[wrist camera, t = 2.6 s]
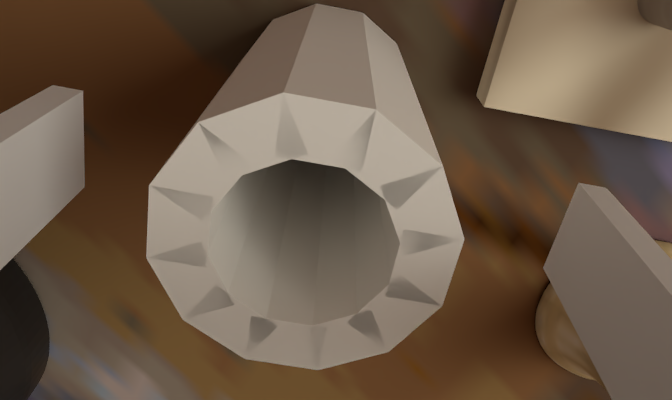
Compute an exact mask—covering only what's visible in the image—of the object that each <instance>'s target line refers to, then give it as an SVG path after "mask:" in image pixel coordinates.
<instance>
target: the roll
mask: <svg viewBox="0 0 672 400" xmlns="http://www.w3.org/2000/svg"><path fill="white" fill-rule="evenodd" d="M463 242H464V236H463V233H462V229H461V226H460V223H459V219H458V216H457V212H456V209H455V206H454V202H453V199H452V195H451V192H450V189H449V185H448V182H447V179H446V175H445V172H444V168H443V165H442V163H441V160H440V157H439V155H438V152H437V149H436V147H435V144H434V141H433V139H432V136H431V133H430V131H429V128H428V125H427V123H426V120H425V117H424V115H423V112H422V109H421V107H420V104H419V101H418V99H417V96H416V93H415V91H414V88H413V85H412V83H411V80H410V77H409V75H408V72H407V69H406V67H405V64H404V61H403V59H402V56H401V54H400V51H399V48H398V46H397V43H396V42H395V41H393V40H392V39H391V38H390V37H389V36H388V35H387V34H386V33H385V32H384V31H382V30H381V29H380V28H379V27H378V26H377V25H376V24H375V23H374V22H372V21H371V20H370V19H369V18H368V17H367V16H366V15H365V14H364V13H362V12H358V11H353V10H347V9H342V8H337V7H332V6H327V5H322V4H317V3H316V4H313V5H311V6H308V7H305V8H303V9H300V10H297V11H295V12H292V13H289V14H287V15H284V16H281V17H279V18H276V19H273V20H272V21H271V23H270V24H269V25H268V27H267V28H266V29H265V30H264V32H263V33H262V34H261V36H260V37H259V38H258V39H257V41H256V42H255V43H254V45H253V46H252V47H251V48H250V50H249V51H248V52H247V54H246V55H245V56H244V58H243V59H242V60H241V62H240V63H239V64H238V66H237V67H236V68H235V70H234V71H233V73H232V74H231V75H230V77H229V78H228V79H227V81H226V82H225V83H224V85H223V86H222V87H221V89H220V90H219V91H218V93H217V94H216V95H215V97H214V98H213V100H212V101H211V102H210V104H209V105H208V106H207V108H206V109H205V110H204V112H203V113H202V114H201V116H200V117H199V118H198V120H197V121H196V123H195V124H194V125H193V127H192V128H191V129H190V131H189V132H188V133H187V135H186V136H185V137H184V139H183V140H182V141H181V143H180V144H179V145H178V147H177V148H176V150H175V151H174V152H173V154H172V155H171V156H170V158H169V159H168V160H167V162H166V163H165V164H164V166H163V167H162V168H161V170H160V171H159V173H158V174H157V175H156V177H155V178H154V179H153V181H152V182H151V183H150V185H149V199H148V225H147V251H146V258H147V260H148V262H149V263H150V265H151V267H152V268H153V270H154V272H155V274H156V275H157V277H158V279H159V280H160V282H161V284H162V285H163V287H164V289H165V290H166V292H167V294H168V296H169V297H170V299H171V301H172V302H173V304H174V306H175V307H176V309H177V311H178V312H179V314H180V316H181V318H182V319H183V320H184V321H186V322H187V323H189V324H190V325H192V326H194V327H195V328H197V329H198V330H200V331H201V332H203V333H205V334H206V335H208V336H209V337H211V338H213V339H214V340H216V341H217V342H219V343H220V344H222V345H224V346H225V347H227V348H228V349H230V350H232V351H233V352H235V353H236V354H238V355H239V356H241V357H243V358H244V359H249V360H255V361H262V362H268V363H275V364H281V365H288V366H294V367H301V368H307V369H314V370H321V369H324V368H328V367H332V366H336V365H340V364H344V363H348V362H352V361H355V360H359V359H363V358H367V357H371V356H375V355H379V354H383V353H387V352H389V351H390V350H391V349H393V348H394V347H395V346H396V345H397V344H398V343H400V342H401V341H402V340H403V339H404V338H405V337H407V336H408V335H409V334H410V333H411V332H413V331H414V330H415V329H416V328H417V327H418V326H420V325H421V324H422V323H423V322H424V321H425V320H427V319H428V318H429V317H430V316H431V315H432V314H434V313H435V312H436V311H437V310H438V309H439V308H441V307H442V305H443V302H444V299H445V296H446V293H447V290H448V287H449V284H450V281H451V278H452V275H453V272H454V269H455V266H456V263H457V260H458V257H459V254H460V251H461V248H462V245H463Z"/></svg>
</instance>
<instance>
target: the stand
mask: <svg viewBox="0 0 672 400" xmlns="http://www.w3.org/2000/svg"><path fill="white" fill-rule="evenodd" d="M476 96H477V98H478V99H479V101H480V102H481V103H482V105H483V106H484V107H488V108H493V109H498V110H504V111H509V112H514V113H520V114H525V115H530V116H536V117H541V118H546V119H552V120H557V121H563V122H568V123H573V124H579V125H584V126H589V127H595V128H600V129H605V130H611V131H616V132H621V133H627V134H632V135H637V136H643V137H648V138H653V139H659V140H664V141H670V142H672V0H505V1H504V4H503V8H502V11H501V14H500V18H499V21H498V24H497V28H496V31H495V34H494V37H493V41H492V44H491V47H490V51H489V54H488V57H487V61H486V64H485V67H484V71H483V74H482V77H481V80H480V84H479V87H478V90H477V94H476Z"/></svg>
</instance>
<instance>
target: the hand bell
mask: <svg viewBox="0 0 672 400" xmlns="http://www.w3.org/2000/svg"><path fill="white" fill-rule="evenodd" d="M654 241H655V242H656V243H657V244H658V245H659V246H660V247H661V249H662V250H663V251H664V252H665V253H666V254H667V255H668V256H669V257H670V258H671V259H672V243H668V242H663V241H657V240H654ZM535 325H536V333H537V337H538V340H539V342H540V344H541V346H542V348H543V350H544V351H545V353H546V354H547V355H548V356H549V357H550V358H551V359H552V360H553V361H554V362H555V363H557V364H558V365H559V366H561V367H563V368H564V369H566V370H568V371H570V372H571V373H573V374H576V375H578V376H581V377H584V378H587V379H592V380H596V381H597V382H598V383H599V384H600V385H601V386H602V387H603V388H604V389H605V390H606V391H607V389H606V387H605V385H604V383H603V381H602V379H601V378H600V376H599V374H598V372H597V370H596V368H595V366H594V364H593V362H592V360H591V358H590V357H589V355H588V353H587V351H586V349H585V347H584V345H583V343H582V341H581V339H580V337H579V336H578V334H577V332H576V330H575V328H574V326H573V324H572V322H571V320H570V318H569V317H568V315H567V313H566V311H565V309H564V307H563V305H562V303H561V301H560V299H559V297H558V296H557V294H556V292H555V290H554V288H553V286H552V284H551V282H550V283H549V285H548V287H547V288H546V290H545V291H544V293H543V295H542V297H541V299H540V302H539V304H538V307H537V311H536V319H535ZM607 392H608V391H607Z"/></svg>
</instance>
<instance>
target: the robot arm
mask: <svg viewBox="0 0 672 400" xmlns="http://www.w3.org/2000/svg"><path fill="white" fill-rule="evenodd" d="M84 187H85V169H84V114H83V91H82V90H77V89H71V88H66V87H60V86H55V85H52V86H50V87H48V88H47V89H45V90H43V91H41V92H39V93H37V94H36V95H34V96H32V97H30V98H28V99H27V100H25V101H23V102H21V103H19V104H18V105H16V106H14V107H12V108H10V109H8V110H7V111H5V112H3V113H1V114H0V400H27V399H28V398H29V396H30V395H31V393H32V392H33V390H34V389H35V387H36V386H37V384H38V382H39V381H40V379H41V377H42V375H43V373H44V371H45V368H46V364H47V360H48V356H49V331H48V325H47V320H46V317H45V314H44V310H43V308H42V305H41V303H40V300H39V298H38V296H37V294H36V292H35V290H34V289H33V287H32V285H31V283H30V282H29V280H28V279H27V277H26V276H25V274H24V273H23V272H22V270H21V269H20V268H19V266H18V265H17V264H16V263H15V261H14V260H13V259H12V258H13V257H14V256H15V255H16V254H17V253H18V252H19V251H20V250H21V249H22V248H23V247H24V246H25V245H26V244H27V243H28V242H29V241H30V240H31V239H32V238H33V237H34V236H35V235H36V234H37V233H38V232H39V231H41V230H42V229H43V228H44V227H45V226H46V225H47V224H48V223H49V222H50V221H51V220H52V219H53V218H54V217H55V216H56V215H57V214H58V213H59V212H60V211H61V210H62V209H63V208H64V207H65V206H66V205H67V204H68V203H69V202H70V201H71V200H72V199H73V198H74V197H75V196H76V195H77V194H78V193H79V192H80V191H81V190H82V189H83V188H84ZM543 269H544V271H545V273H546V275H547V277H548V278H549V280H550V282H551V284H552V286H553V288H554V290H555V292H556V294H557V296H558V297H559V299H560V301H561V303H562V305H563V307H564V309H565V311H566V313H567V315H568V317H569V318H570V320H571V322H572V324H573V326H574V328H575V330H576V332H577V334H578V336H579V337H580V339H581V341H582V343H583V345H584V347H585V349H586V351H587V353H588V355H589V357H590V358H591V360H592V362H593V364H594V366H595V368H596V370H597V372H598V374H599V376H600V378H601V379H602V381H603V383H604V385H605V387H606V389H607V391H608V393H609V395H610V397H611V398H612V400H672V259H671V258H670V257H669V256H668V255H667V254H666V253H665V252H664V251H663V250H662V249H661V247H660V246H659V245H658V244H657V243H656V242H655V241H654V240H653V239H652V238H651V236H650V235H649V234H648V233H647V232H646V231H645V230H644V229H643V228H642V227H641V226H640V224H639V223H638V222H637V221H636V220H635V219H634V218H633V217H632V216H631V215H630V213H629V212H628V211H627V210H626V209H625V208H624V207H623V206H622V205H621V204H620V202H619V201H618V200H617V199H616V198H615V197H614V196H613V195H612V194H611V193H610V192H609V190H608V189H607V188H604V187H598V186H593V185H588V184H582V183H578V185H577V188H576V190H575V193H574V195H573V197H572V200H571V202H570V205H569V207H568V209H567V212H566V214H565V217H564V219H563V221H562V224H561V226H560V229H559V231H558V234H557V236H556V238H555V241H554V243H553V246H552V248H551V250H550V253H549V255H548V258H547V260H546V262H545V265H544V267H543Z"/></svg>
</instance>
